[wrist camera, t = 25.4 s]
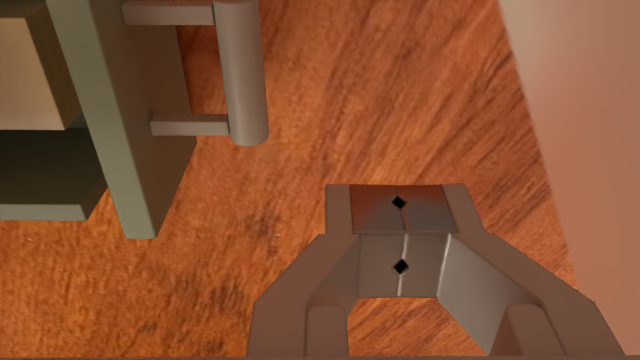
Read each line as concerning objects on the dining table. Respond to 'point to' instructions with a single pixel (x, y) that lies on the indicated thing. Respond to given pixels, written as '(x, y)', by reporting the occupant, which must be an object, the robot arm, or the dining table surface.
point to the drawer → (132, 111)
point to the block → (33, 70)
